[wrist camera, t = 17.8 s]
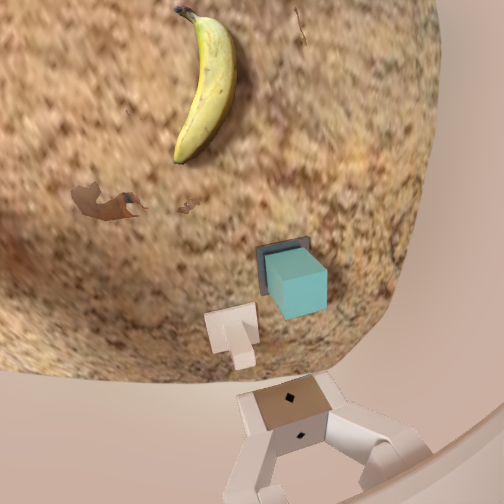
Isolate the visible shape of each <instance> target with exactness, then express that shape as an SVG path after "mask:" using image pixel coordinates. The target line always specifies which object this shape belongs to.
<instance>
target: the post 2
mask: <svg viewBox="0 0 504 504" xmlns="http://www.w3.org/2000/svg"><path fill="white" fill-rule="evenodd" d="M303 247H304V248H305V249H306V250H307V251H308V252H309V237H308V236H305V237H300V238H295V239H290V240H285V241H281V242H276V243H271V244H266V245H262V246H257V247H255V248H256V257H257V266H258V275H259V285H260V294H261V296H264V295H268V294H270V293H269V292H268V283H267V272H266V261H265V256H266V255H271V254H275V253H280V252H285V251H289V250H294V249H298V248H303Z"/></svg>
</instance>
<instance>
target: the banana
mask: <svg viewBox="0 0 504 504" xmlns="http://www.w3.org/2000/svg"><path fill="white" fill-rule="evenodd" d="M174 11H175V12H176V13H179V14H180V15H181V16H183V17H185V18H186V19H188V20H189V21H190V22H192V23H193V24H194V27H195V31H196V35H197V41H198V46H199V55H200V77H199V84H198V89H197V92H196V95H195V98H194V101H193V103H192V105H191V109H190V112H189V114H188V118H187V120H186V122H185V124H184V126H183V128H182V130H181V132H180V134H179V136H178V140H177V143H176V147H175V153H174V163H175V164H182V165H184V164H185V163H186V162H187V161H188V160H190V159H192V158H195V157H197V156H198V155H199V154H200V153H201V152H203V151H204V150H205V148H206V147H207V146H208V145H209V144H210V142H211V141H212V140H213V139H214V137H215V136H216V135H217V133H218V131H219V129H220V127H221V125H222V124H223V122H224V121H225V119H226V117H227V115H228V113H229V110H230V108H231V104H232V101H233V98H234V94H235V89H236V82H237V55H236V50H235V46H234V42H233V38H232V36H231V34H230V32H229V31H228V29H227V28H226V27H225V26H224V25H223V24H222V23H220V22H219V21H217V20H216V19H213V18H208V17H200V16H198V15H196V14H195V13H194V12H192V11H191V9H190V8H188V7H185V6H183V7H178V6H177V7H175V8H174ZM294 11H295V12H296V14H297V16H298V12H297V9H296V7H295V8H294ZM298 22H299V18H298ZM299 27H300V30H301V26H300V22H299ZM301 32H302V30H301ZM302 34H303V32H302ZM302 34H301V35H302ZM303 37H304V38H303V39H302V40H303V41H304V45H306V46H307V44H306V38H305V36H304V34H303ZM301 45H302V44H301ZM126 112H127V114H128V111H127V110H126ZM128 115H129V114H128ZM129 116H130V115H129ZM140 119H141V118H140ZM141 120H142V119H141ZM100 193H101V191H100V189H99V186H98V184H97V183H96V182H93V183H92V184H91V185H90V189H88V188H85V187H82V186H77V187H76V188H75V189H74V190H72V191H71V195H72V199H73V200H74V202H75V203H76V205H77V206H78V207H79V209H80V210H81V212H82V213H83V214H84V215H87V216H91V217H94V218H97V219H101V220H104V221H108V220H115V219H121V218H128V217H136V216H134V215H132V214H131V213H130V212H129V211H128V210H127V209H126V203H135V202H136V203H138V204H140V200H139V198H138V197H137V196H135V195H134V194H133V192H129V193H121V194H119V195H118V196H117V197H116V198H115V199H114V200H110V201H108V202H107V203H104V204H97V203H95V202H96V200H97V198H98V197H99V195H100ZM187 203H188V204H189V205H187ZM196 204H197V205H200V203H199V201H198V199H197V198H193V199H191V200H189V201H188V202H186V203H185V204H184V205H185V206H186V207H179V209H178V211H177V212H181V213H184V214H188V213H189V211H190V210H191V209H193V208H195V205H196ZM141 206H142V205H141ZM142 207H143V206H142ZM143 208H144V209H148V208H145V207H143Z"/></svg>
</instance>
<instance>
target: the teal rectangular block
mask: <svg viewBox="0 0 504 504" xmlns="http://www.w3.org/2000/svg"><path fill="white" fill-rule="evenodd" d="M265 261H266V272H267V283H268V292H269V293H270V295H271V296H272V298H273V300H274V301H275V303H276V305H277V306H278V308H279V310H280V311H281V313H282V314H283V316H284V318H285V319H286V320H287V319H291V318H294V317H298V316H302V315H305V314H309V313H312V312H316V311H319V310H323V309H326V308H327V269H326V268H325V267H324V266H323V265H322V264H320V263H319V262H318V261H317V260H316V259H315V258H314V257H313V256H312V255H311V254H310V253H309V252H308V251H307V250H306V249H305V248H304V247H303V248H298V249H294V250H289V251H285V252H280V253H275V254H271V255H266V256H265Z"/></svg>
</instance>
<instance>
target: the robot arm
mask: <svg viewBox="0 0 504 504" xmlns="http://www.w3.org/2000/svg"><path fill="white" fill-rule="evenodd" d="M237 401H238V406H239V410H240V414H241V418H242V422H243V426H244V429H245V432H246V435H247V437H245V439H244V442H243V445H242V448H241V450H240V452H239V455H238V458H237V460H236V463H235V466H234V468H233V471H232V473H231V476H230V478H229V481H228V483H227V486H226V488H225V491H224V493H223V496H222V497H223V501H224V504H289V503H288V501H287V499H286V496H285V494H284V491H283V489H282V487H281V486H278V485H271V486H270V482H271V478H272V474H273V471H274V467H275V463H276V459H277V458H276V457H278V456H281V455H284V454H287V453H290V452H293V451H296V450H299V449H302V448H305V447H308V446H311V445H314V444H317V443H320V442H323V441H325V442H326V443H327V444H329V445H331V446H332V447H334V448H335V449H337V450H339V451H340V452H342V453H344V454H345V455H347V456H349V457H350V458H352V459H354V460H355V461H357V462H359V463H361V464H362V465H365V468H364V470H363V473H362V475H361V477H360V480H359V484H360V486H361V488H362V490H363V491H364V492H362V493H360V494H358V495H356V496H353V497H351V498H349V499H347V500H344V501H342V502H339V503H337V504H504V402H503V403H502V404H501V405H500V406H499V407H497V408H496V409H495V410H494V411H492V412H491V413H490V414H489V415H488V416H486V417H485V418H484V419H483V420H481V421H480V422H479V423H477V424H476V425H475V426H473V427H472V428H471V429H470V430H468V431H467V432H465V433H464V434H463V435H461V436H460V437H458V438H457V439H455V440H454V441H453V442H451V443H450V444H448V445H447V446H445V447H444V448H442V449H441V450H439V451H438V452H436V453H434V454H433V453H432V452H431V450H430V449H429V448H428V446H427V445H426V444H425V442H424V441H423V440H422V439H421V437H420V436H419V434H418V433H417V432H416V430H415V429H414V428H413V427H412V426H410V425H407V424H404V423H402V422H400V421H397V420H395V419H392V418H390V417H387V416H385V415H382V414H380V413H377V412H375V411H373V410H370V409H368V408H366V407H363V406H361V405H359V404H356V403H354V402H351V403H348V401H347V400H346V398H345V397H344V395H343V394H342V392H341V391H340V389H339V388H338V386H337V385H336V383H335V382H334V381H333V379H332V377H331V376H330V374H329V373H328V371H326V370H322V371H319V372H316V373H313V374H309V375H306V376H303V377H300V378H297V379H294V380H291V381H287V382H284V383H282V384H279V385H276V386H272V387H268V388H264V389H260V390H256V391H252V392H248V393H244V394H240V395H237Z"/></svg>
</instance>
